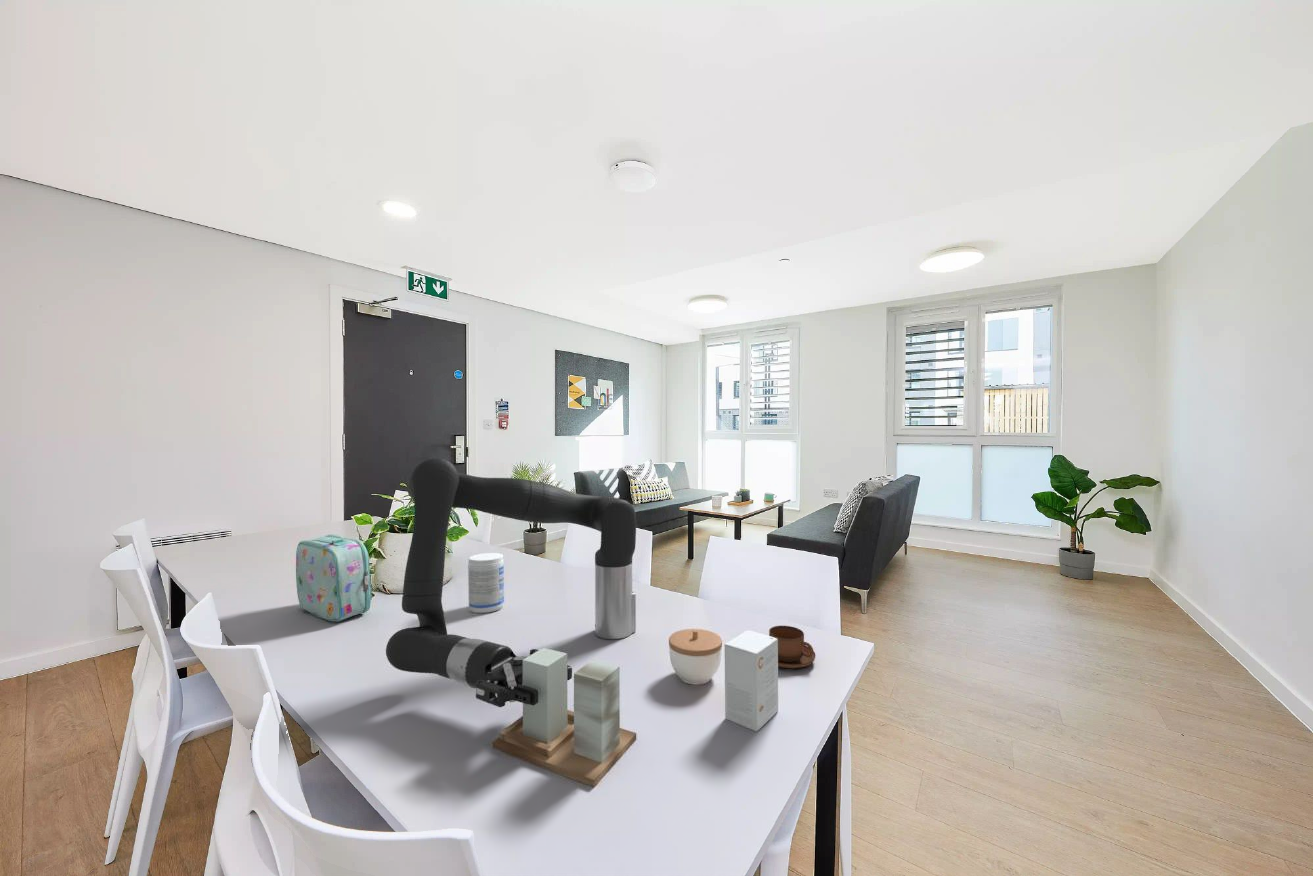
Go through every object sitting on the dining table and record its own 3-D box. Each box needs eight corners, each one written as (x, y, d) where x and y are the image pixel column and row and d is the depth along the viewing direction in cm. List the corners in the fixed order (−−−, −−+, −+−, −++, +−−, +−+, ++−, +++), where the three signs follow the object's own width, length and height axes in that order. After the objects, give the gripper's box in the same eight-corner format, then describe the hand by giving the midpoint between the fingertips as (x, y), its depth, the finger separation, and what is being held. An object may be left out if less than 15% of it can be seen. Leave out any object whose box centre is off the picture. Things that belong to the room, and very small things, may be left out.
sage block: (543, 718, 83) (543, 647, 83) (567, 726, 80) (567, 653, 80) (522, 734, 78) (522, 659, 78) (547, 743, 76) (547, 666, 76)
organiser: (543, 709, 87) (542, 636, 87) (636, 739, 79) (636, 658, 78) (492, 748, 76) (492, 665, 76) (594, 787, 68) (593, 693, 68)
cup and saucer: (818, 654, 109) (818, 626, 109) (811, 678, 98) (811, 648, 98) (764, 644, 114) (764, 618, 114) (752, 666, 103) (752, 637, 103)
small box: (747, 699, 90) (747, 628, 90) (779, 711, 86) (779, 638, 86) (723, 718, 84) (723, 643, 84) (756, 733, 80) (756, 653, 80)
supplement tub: (508, 610, 137) (508, 557, 137) (473, 617, 132) (472, 562, 132) (498, 600, 145) (498, 550, 145) (464, 606, 140) (464, 555, 140)
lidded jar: (726, 669, 102) (726, 624, 102) (715, 695, 92) (715, 645, 92) (677, 661, 106) (677, 618, 105) (661, 685, 95) (661, 637, 95)
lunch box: (379, 616, 133) (378, 537, 133) (338, 628, 124) (337, 544, 124) (331, 598, 147) (330, 527, 147) (291, 609, 138) (290, 533, 138)
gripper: (446, 659, 79) (523, 681, 72) (509, 628, 92) (580, 644, 85) (446, 705, 79) (524, 732, 72) (510, 668, 92) (581, 688, 85)
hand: (554, 685), depth 78 cm, fingers open, 8 cm apart
